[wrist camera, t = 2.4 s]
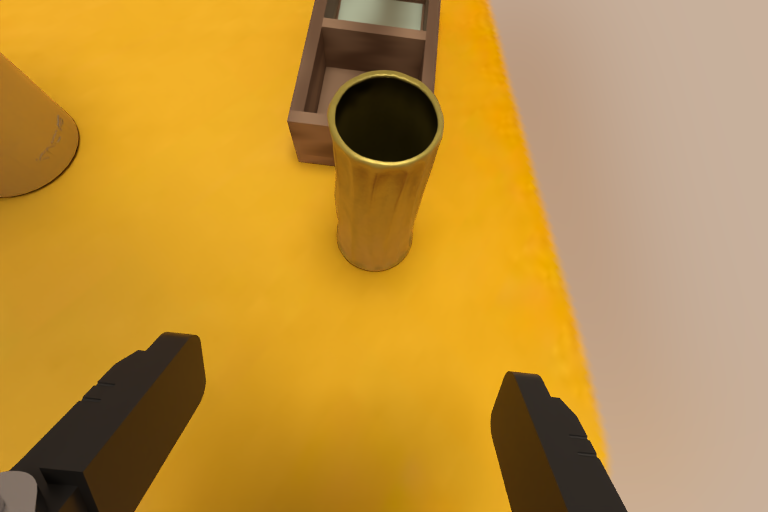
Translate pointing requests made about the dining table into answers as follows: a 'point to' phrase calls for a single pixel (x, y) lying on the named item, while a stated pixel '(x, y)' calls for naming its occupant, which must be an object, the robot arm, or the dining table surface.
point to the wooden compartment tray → (357, 59)
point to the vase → (381, 163)
